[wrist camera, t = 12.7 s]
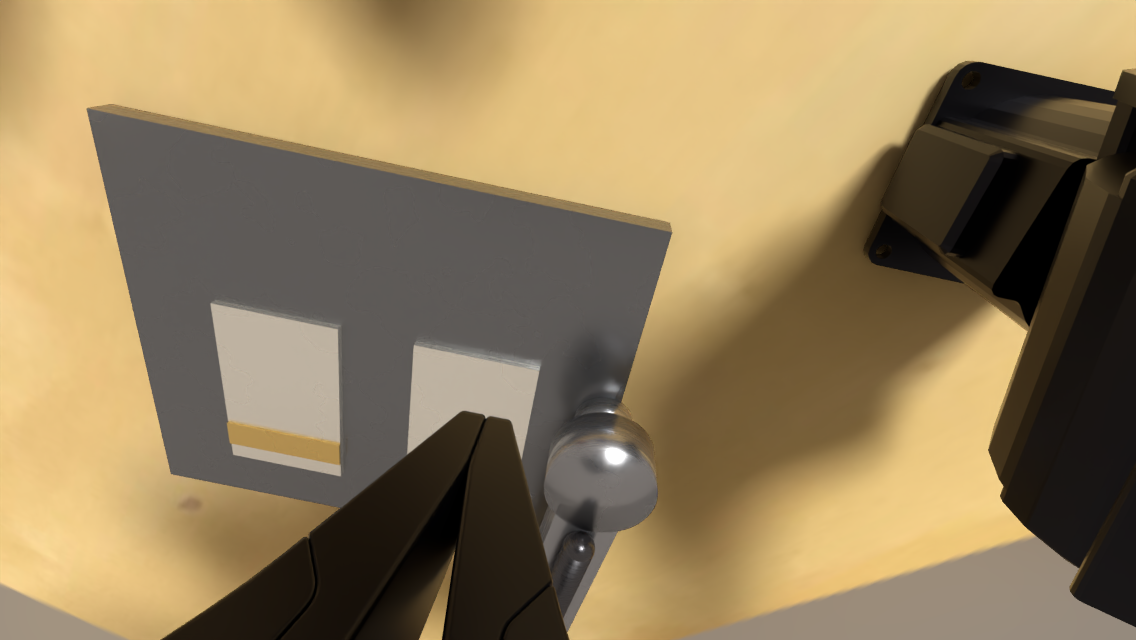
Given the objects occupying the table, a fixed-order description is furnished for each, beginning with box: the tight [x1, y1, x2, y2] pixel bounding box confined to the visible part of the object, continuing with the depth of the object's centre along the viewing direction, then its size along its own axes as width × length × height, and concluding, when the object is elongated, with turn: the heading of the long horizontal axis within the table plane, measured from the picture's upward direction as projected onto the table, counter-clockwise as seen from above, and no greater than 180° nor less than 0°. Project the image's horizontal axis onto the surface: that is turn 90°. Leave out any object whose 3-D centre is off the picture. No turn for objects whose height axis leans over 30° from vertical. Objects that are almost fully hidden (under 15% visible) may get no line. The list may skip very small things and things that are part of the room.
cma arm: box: [539, 412, 658, 632], centre depth 24 cm, size 20×4×3 cm, turn 164°
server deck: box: [87, 104, 672, 528], centre depth 22 cm, size 21×17×3 cm
